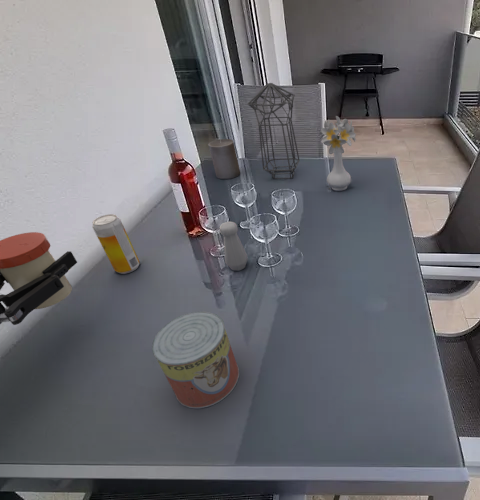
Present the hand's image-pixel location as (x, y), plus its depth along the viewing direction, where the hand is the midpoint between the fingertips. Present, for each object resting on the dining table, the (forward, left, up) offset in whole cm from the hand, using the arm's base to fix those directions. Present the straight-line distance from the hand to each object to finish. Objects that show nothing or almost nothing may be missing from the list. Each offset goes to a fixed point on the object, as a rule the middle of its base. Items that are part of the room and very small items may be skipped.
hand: (52, 257), depth 70 cm
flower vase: (+38, +77, -17) cm, 88 cm away
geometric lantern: (+11, +85, -17) cm, 88 cm away
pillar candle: (-12, +81, -17) cm, 84 cm away
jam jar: (+1, -5, -6) cm, 8 cm away
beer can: (-5, +17, -17) cm, 25 cm away
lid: (+1, -5, +6) cm, 7 cm away
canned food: (+36, -9, -17) cm, 41 cm away
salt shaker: (+24, +24, -17) cm, 38 cm away
